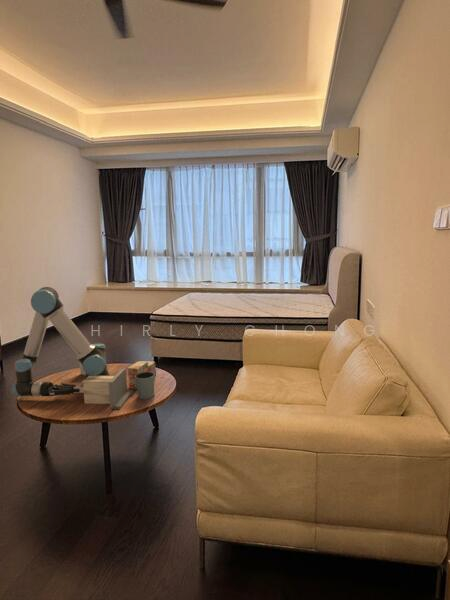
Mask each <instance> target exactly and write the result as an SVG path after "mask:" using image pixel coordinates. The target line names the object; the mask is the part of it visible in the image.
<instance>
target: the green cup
mask: <svg viewBox="0 0 450 600" xmlns="http://www.w3.org/2000/svg"><path fill="white" fill-rule="evenodd" d="M155 377H156V376H155V374H154V373H153V372H141V373H138V374H136V375H135V380H136V385H137V389H136V390H137V396H138V398H139V399H140V400H149V399H152V398H154V397H155Z"/></svg>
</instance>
